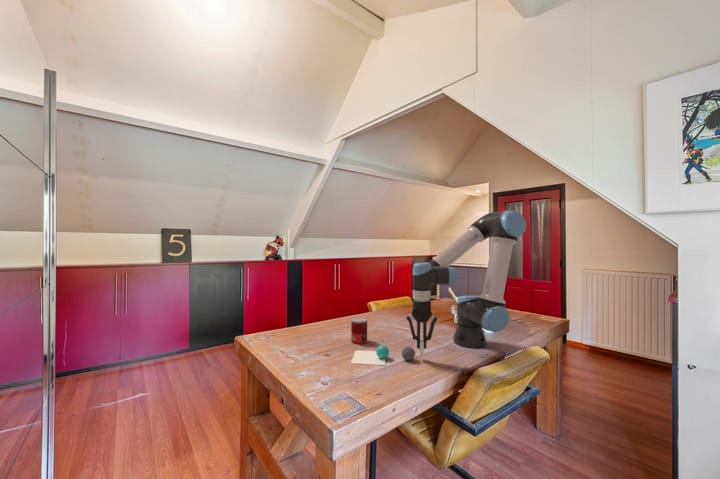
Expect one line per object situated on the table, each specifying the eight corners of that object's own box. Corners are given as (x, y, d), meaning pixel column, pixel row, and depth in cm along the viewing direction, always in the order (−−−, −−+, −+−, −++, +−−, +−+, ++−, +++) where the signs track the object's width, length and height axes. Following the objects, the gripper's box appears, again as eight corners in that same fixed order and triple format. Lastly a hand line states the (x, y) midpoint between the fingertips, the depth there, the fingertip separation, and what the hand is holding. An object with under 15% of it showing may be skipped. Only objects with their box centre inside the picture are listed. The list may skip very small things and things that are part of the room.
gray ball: (403, 343, 127) (399, 355, 128) (404, 348, 122) (400, 360, 122) (415, 346, 127) (412, 358, 127) (417, 352, 121) (413, 364, 122)
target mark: (386, 352, 133) (386, 351, 133) (385, 365, 119) (385, 365, 119) (355, 350, 135) (355, 350, 135) (350, 363, 121) (350, 363, 121)
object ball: (386, 341, 129) (374, 345, 130) (385, 346, 123) (373, 350, 124) (391, 353, 129) (379, 357, 129) (390, 358, 123) (378, 362, 124)
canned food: (365, 345, 142) (365, 322, 142) (349, 343, 144) (349, 321, 144) (368, 339, 150) (368, 318, 150) (353, 338, 151) (353, 317, 151)
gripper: (406, 301, 121) (406, 358, 121) (438, 302, 120) (438, 360, 120) (405, 297, 129) (405, 351, 129) (436, 298, 127) (436, 353, 127)
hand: (421, 355), depth 124 cm, fingers closed
